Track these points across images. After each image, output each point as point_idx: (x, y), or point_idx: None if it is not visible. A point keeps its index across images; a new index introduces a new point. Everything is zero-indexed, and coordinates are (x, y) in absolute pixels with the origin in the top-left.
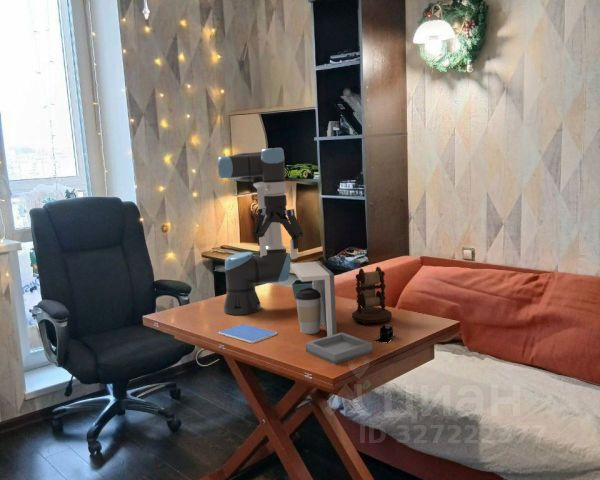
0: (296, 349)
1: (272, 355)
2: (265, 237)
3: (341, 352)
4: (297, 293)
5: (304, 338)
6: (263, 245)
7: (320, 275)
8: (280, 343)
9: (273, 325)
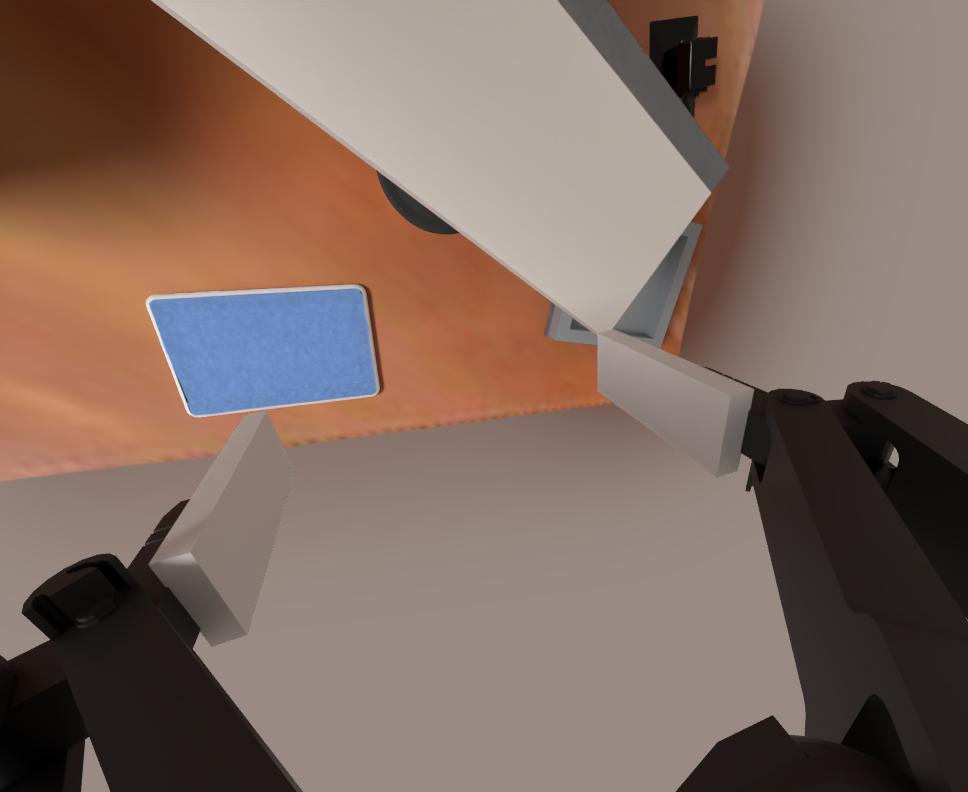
0: (513, 339)
1: (494, 404)
2: (201, 545)
3: (665, 329)
4: (388, 184)
5: (465, 257)
6: (258, 509)
7: (674, 242)
8: (442, 337)
9: (249, 219)
